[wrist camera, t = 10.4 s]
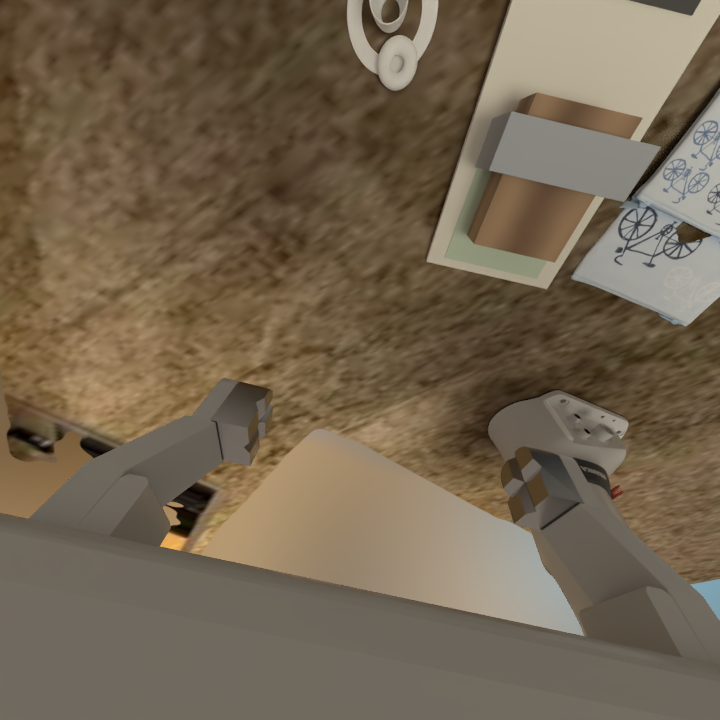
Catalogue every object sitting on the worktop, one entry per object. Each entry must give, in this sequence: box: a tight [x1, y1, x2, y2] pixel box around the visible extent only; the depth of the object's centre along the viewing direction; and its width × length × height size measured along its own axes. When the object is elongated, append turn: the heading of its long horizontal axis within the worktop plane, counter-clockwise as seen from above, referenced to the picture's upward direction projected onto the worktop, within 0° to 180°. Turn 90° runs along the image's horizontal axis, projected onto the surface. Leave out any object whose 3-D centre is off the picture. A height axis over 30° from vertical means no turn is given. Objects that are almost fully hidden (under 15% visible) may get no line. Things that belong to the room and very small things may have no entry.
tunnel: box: [475, 111, 661, 202], centre depth 26 cm, size 12×4×6 cm, turn 80°
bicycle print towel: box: [570, 88, 720, 326], centre depth 31 cm, size 19×20×2 cm
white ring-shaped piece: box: [347, 0, 438, 91], centre depth 24 cm, size 9×8×4 cm
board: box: [426, 0, 720, 289], centre depth 28 cm, size 16×28×1 cm, turn 169°
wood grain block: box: [467, 93, 643, 262], centre depth 28 cm, size 9×12×4 cm
